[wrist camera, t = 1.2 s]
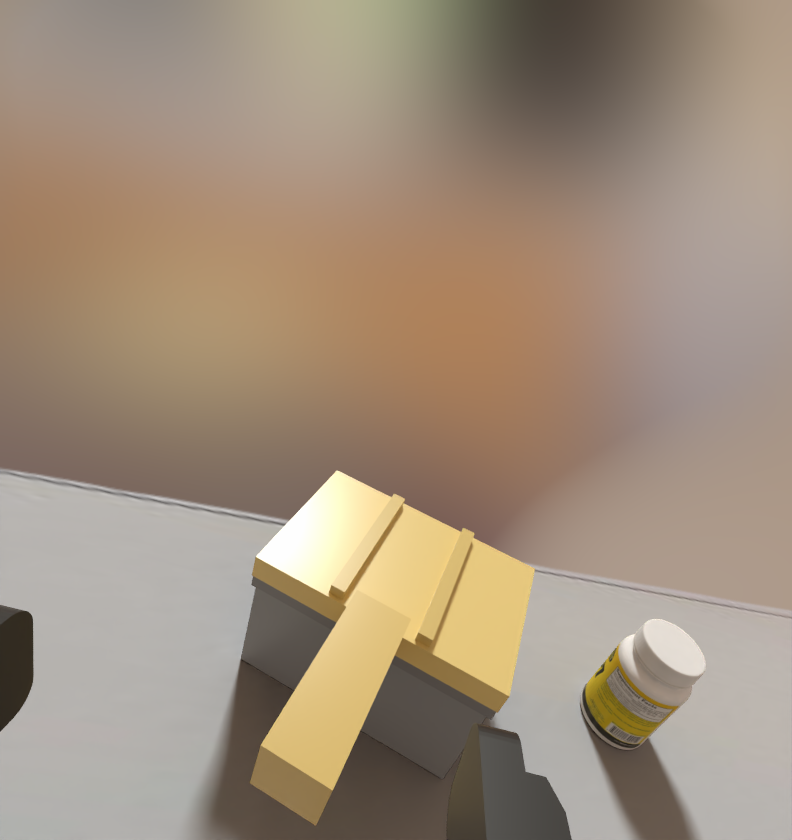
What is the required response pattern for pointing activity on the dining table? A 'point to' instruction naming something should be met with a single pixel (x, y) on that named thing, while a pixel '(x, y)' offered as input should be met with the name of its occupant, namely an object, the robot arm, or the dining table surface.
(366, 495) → the lid
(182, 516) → the dining table surface
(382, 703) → the grey box
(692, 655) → the supplement bottle
